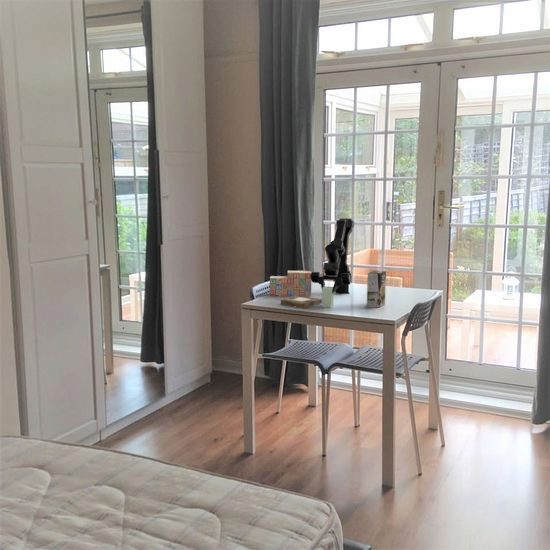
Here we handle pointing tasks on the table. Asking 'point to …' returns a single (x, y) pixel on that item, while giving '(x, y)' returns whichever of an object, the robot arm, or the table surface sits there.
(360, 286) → the table surface
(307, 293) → the stack of blocks
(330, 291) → the pillar block
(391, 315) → the table surface
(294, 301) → the base board
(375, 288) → the coffee box
